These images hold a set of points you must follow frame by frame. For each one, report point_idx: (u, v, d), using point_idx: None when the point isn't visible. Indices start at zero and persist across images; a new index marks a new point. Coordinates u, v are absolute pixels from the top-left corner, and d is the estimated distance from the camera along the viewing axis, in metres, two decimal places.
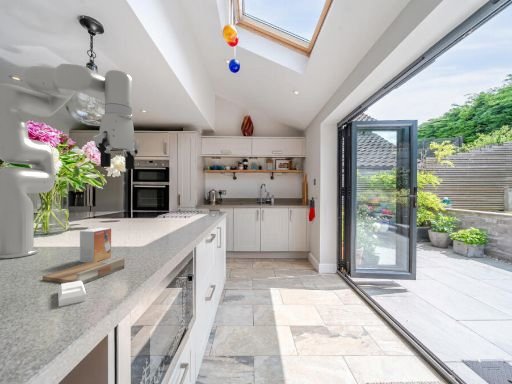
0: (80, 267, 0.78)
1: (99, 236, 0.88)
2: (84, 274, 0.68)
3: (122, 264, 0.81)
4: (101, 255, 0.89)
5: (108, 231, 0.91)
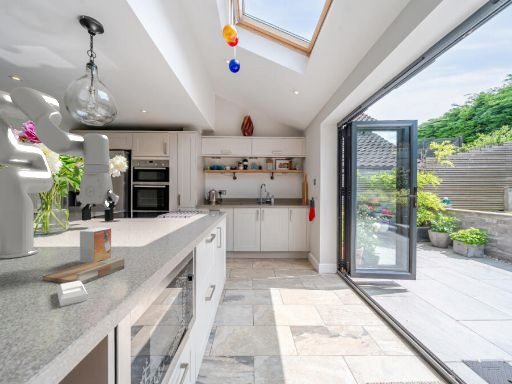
0: (80, 267, 0.78)
1: (99, 236, 0.88)
2: (84, 274, 0.68)
3: (122, 264, 0.81)
4: (101, 255, 0.89)
5: (107, 231, 0.91)
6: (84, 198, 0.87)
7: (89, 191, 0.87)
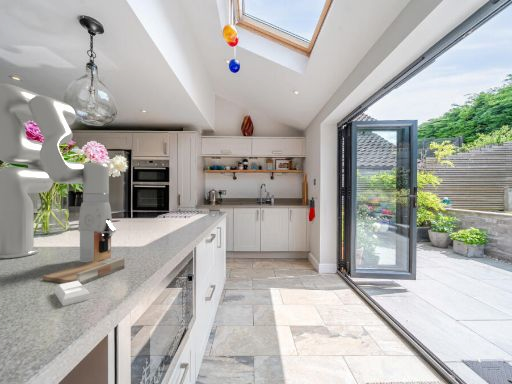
0: (80, 267, 0.78)
1: (99, 236, 0.88)
2: (84, 274, 0.68)
3: (122, 264, 0.81)
4: (101, 254, 0.89)
5: None
6: (83, 226, 0.88)
7: (88, 220, 0.87)
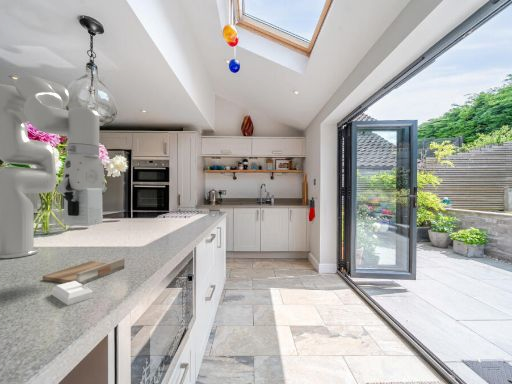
0: (80, 267, 0.78)
1: None
2: (84, 274, 0.68)
3: (122, 264, 0.81)
4: None
5: None
6: (84, 184, 0.73)
7: (91, 176, 0.75)
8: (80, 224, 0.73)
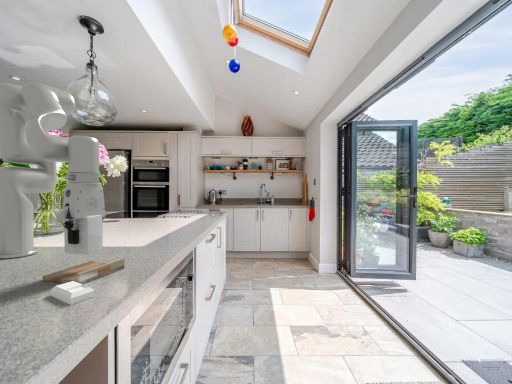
0: (80, 267, 0.78)
1: None
2: (84, 274, 0.68)
3: (122, 264, 0.81)
4: None
5: None
6: (84, 212, 0.73)
7: (91, 203, 0.75)
8: (80, 252, 0.73)
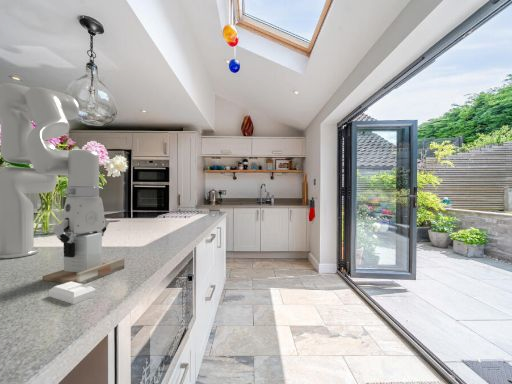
0: None
1: None
2: (84, 274, 0.68)
3: (122, 264, 0.81)
4: None
5: None
6: (83, 227, 0.73)
7: (91, 217, 0.75)
8: (79, 271, 0.73)
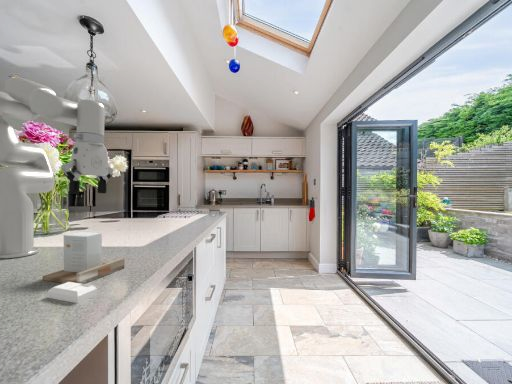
0: None
1: None
2: (84, 274, 0.68)
3: (122, 264, 0.81)
4: None
5: None
6: (89, 169, 0.81)
7: (96, 162, 0.83)
8: (79, 271, 0.73)
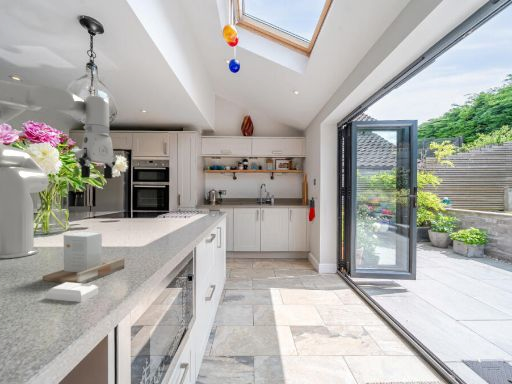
0: None
1: None
2: (84, 274, 0.68)
3: (122, 264, 0.81)
4: None
5: None
6: (97, 156, 0.93)
7: (103, 150, 0.96)
8: (79, 271, 0.73)
